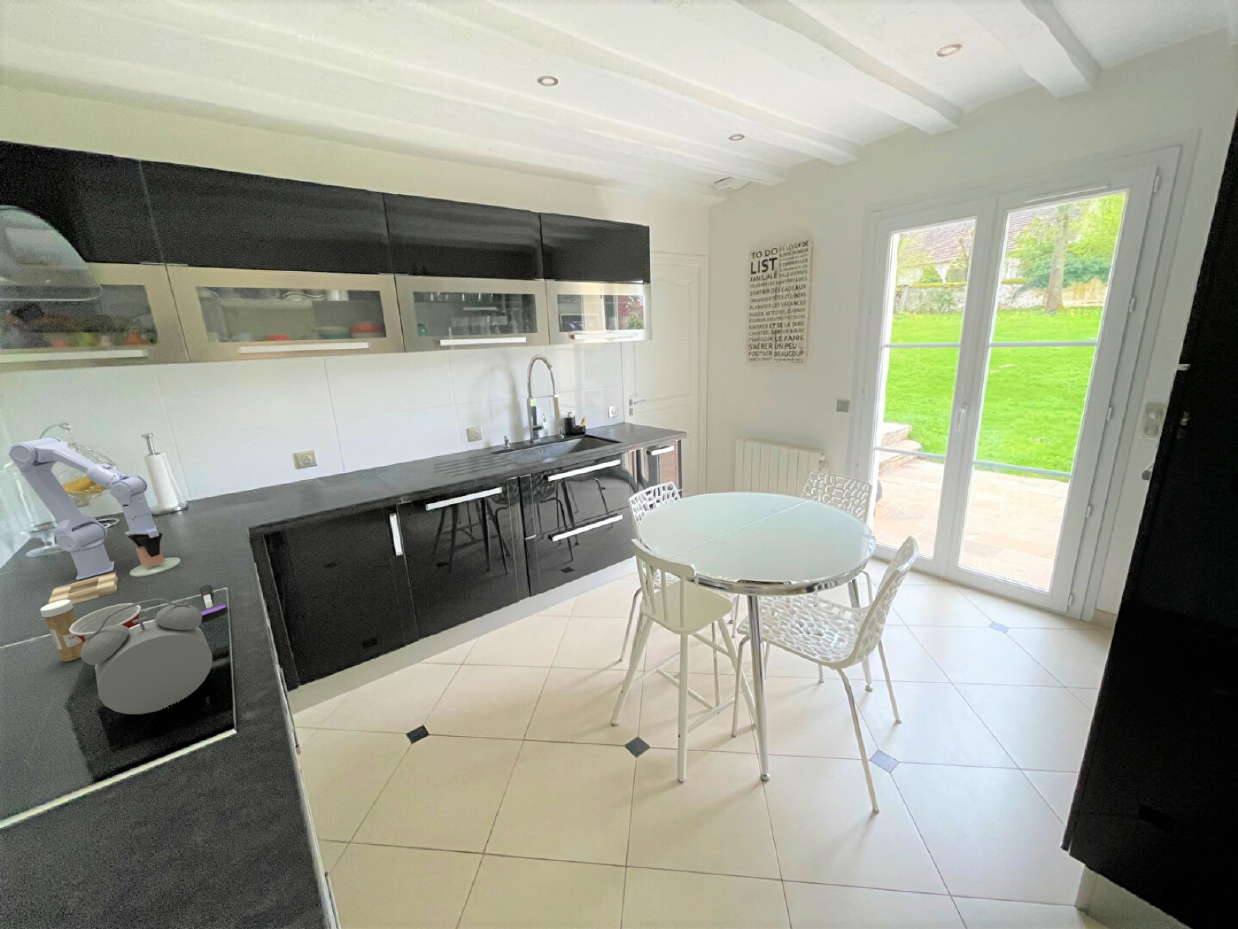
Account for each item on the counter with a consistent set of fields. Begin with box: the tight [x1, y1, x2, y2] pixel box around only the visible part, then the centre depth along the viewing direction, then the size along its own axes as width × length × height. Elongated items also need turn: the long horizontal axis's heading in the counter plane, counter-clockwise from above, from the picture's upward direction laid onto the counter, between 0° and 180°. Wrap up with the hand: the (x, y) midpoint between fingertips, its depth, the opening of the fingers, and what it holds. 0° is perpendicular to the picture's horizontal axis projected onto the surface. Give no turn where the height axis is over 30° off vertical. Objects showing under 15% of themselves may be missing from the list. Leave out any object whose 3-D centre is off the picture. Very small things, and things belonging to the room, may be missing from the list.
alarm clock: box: [80, 597, 213, 715], centre depth 89 cm, size 16×9×22 cm, turn 139°
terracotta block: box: [135, 546, 165, 568], centre depth 151 cm, size 4×4×6 cm
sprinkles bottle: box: [39, 600, 84, 662], centre depth 107 cm, size 5×5×13 cm
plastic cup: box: [69, 602, 142, 643], centre depth 103 cm, size 11×11×12 cm
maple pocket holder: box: [47, 571, 119, 606], centre depth 138 cm, size 13×13×2 cm
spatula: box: [199, 584, 227, 616], centre depth 129 cm, size 24×7×2 cm, turn 43°
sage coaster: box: [129, 556, 181, 578], centre depth 153 cm, size 12×12×1 cm
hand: (151, 554), depth 152 cm, fingers closed on terracotta block, 4 cm apart
